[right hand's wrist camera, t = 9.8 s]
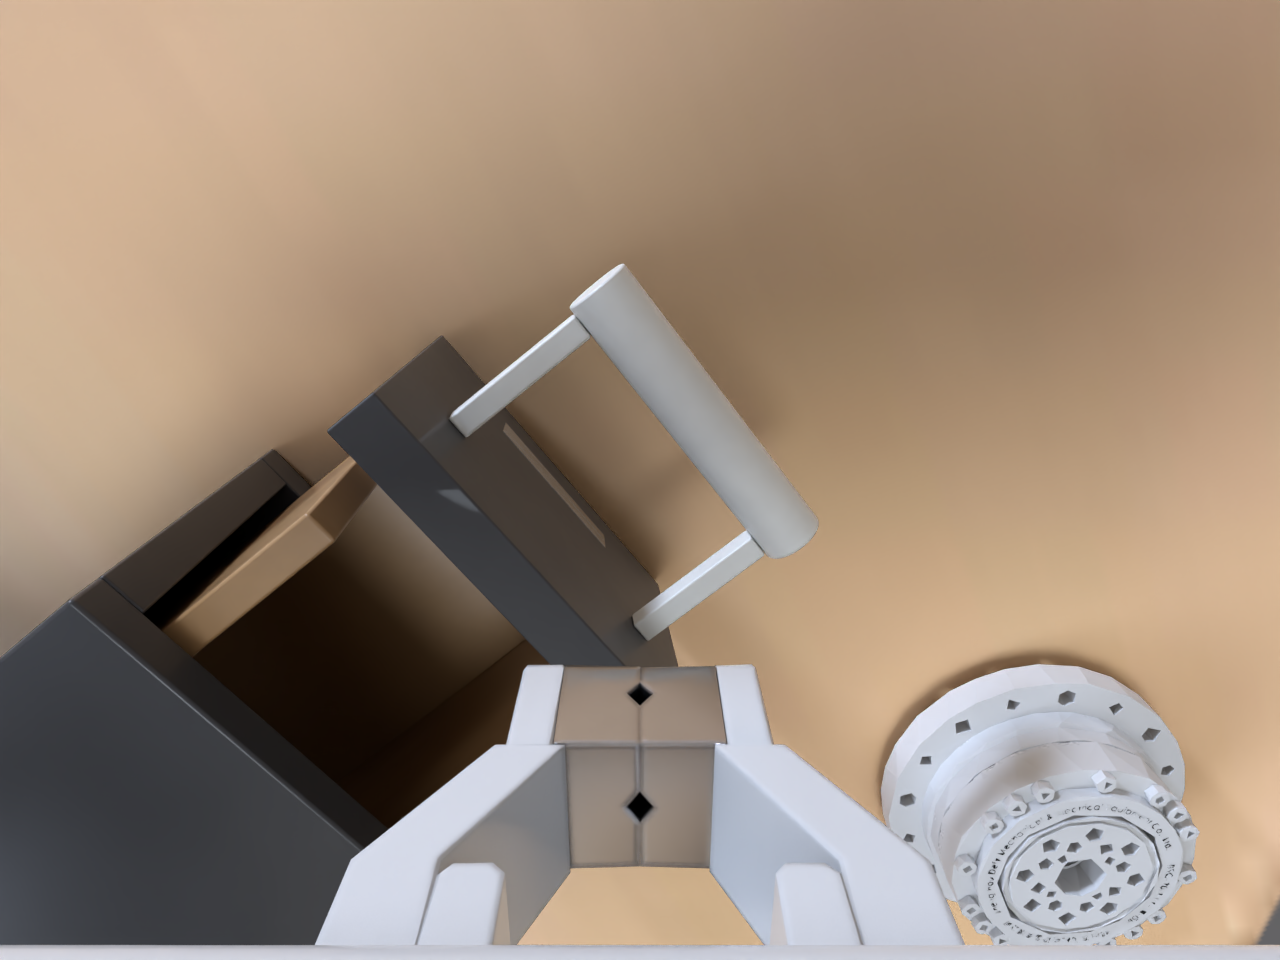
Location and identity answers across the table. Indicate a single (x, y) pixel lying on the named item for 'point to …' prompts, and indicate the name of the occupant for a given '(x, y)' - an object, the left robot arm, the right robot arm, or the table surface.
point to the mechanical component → (1045, 805)
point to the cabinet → (160, 766)
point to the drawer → (466, 560)
